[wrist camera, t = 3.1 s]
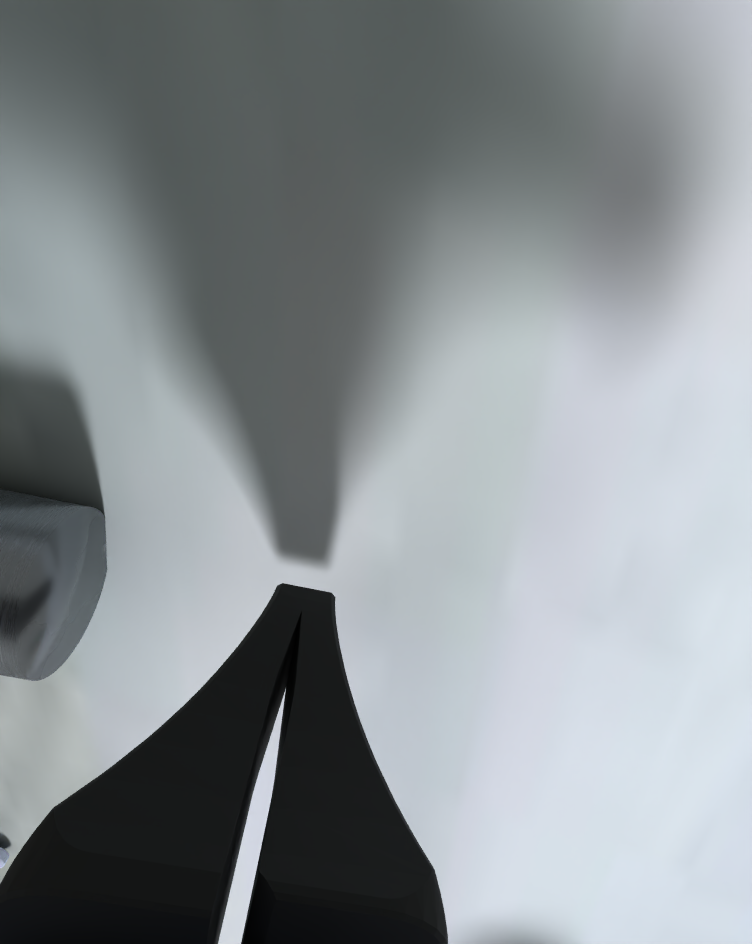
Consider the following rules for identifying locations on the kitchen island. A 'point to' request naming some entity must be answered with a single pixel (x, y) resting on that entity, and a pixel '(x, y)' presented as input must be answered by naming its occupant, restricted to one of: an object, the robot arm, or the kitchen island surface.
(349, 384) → the kitchen island surface
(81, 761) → the kitchen island surface
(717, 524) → the kitchen island surface
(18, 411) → the kitchen island surface
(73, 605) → the axle
